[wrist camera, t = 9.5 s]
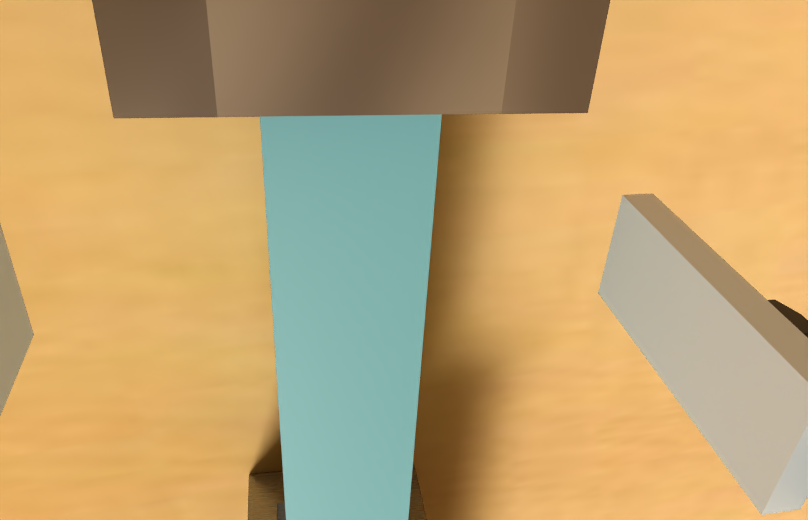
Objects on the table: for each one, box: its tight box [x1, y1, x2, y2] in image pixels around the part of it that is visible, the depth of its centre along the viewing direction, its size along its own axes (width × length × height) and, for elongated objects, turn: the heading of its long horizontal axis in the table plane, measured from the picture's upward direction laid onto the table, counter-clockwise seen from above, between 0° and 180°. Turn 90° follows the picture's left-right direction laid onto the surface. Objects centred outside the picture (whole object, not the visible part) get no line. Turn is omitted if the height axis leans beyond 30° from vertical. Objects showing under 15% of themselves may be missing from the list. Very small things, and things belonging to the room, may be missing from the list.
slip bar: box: [260, 115, 442, 520], centre depth 22 cm, size 4×26×5 cm, turn 177°
